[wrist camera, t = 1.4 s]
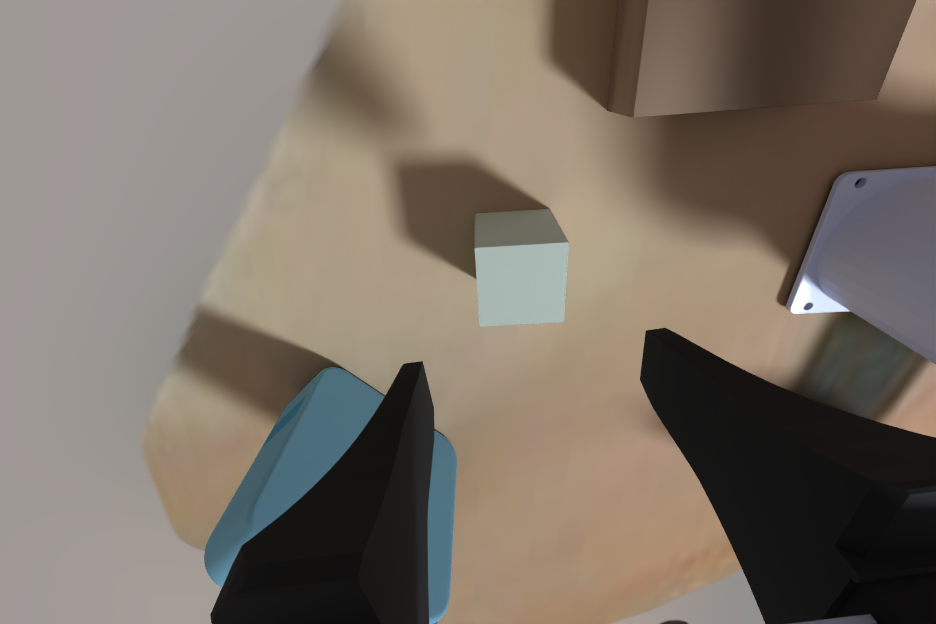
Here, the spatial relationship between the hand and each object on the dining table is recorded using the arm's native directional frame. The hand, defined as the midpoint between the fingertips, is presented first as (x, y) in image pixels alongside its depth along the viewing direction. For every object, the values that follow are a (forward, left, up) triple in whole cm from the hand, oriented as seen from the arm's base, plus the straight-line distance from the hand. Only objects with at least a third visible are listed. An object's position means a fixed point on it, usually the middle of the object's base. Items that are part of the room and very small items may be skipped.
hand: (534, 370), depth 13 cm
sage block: (0, 0, -11) cm, 11 cm away
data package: (+10, +13, -11) cm, 20 cm away
